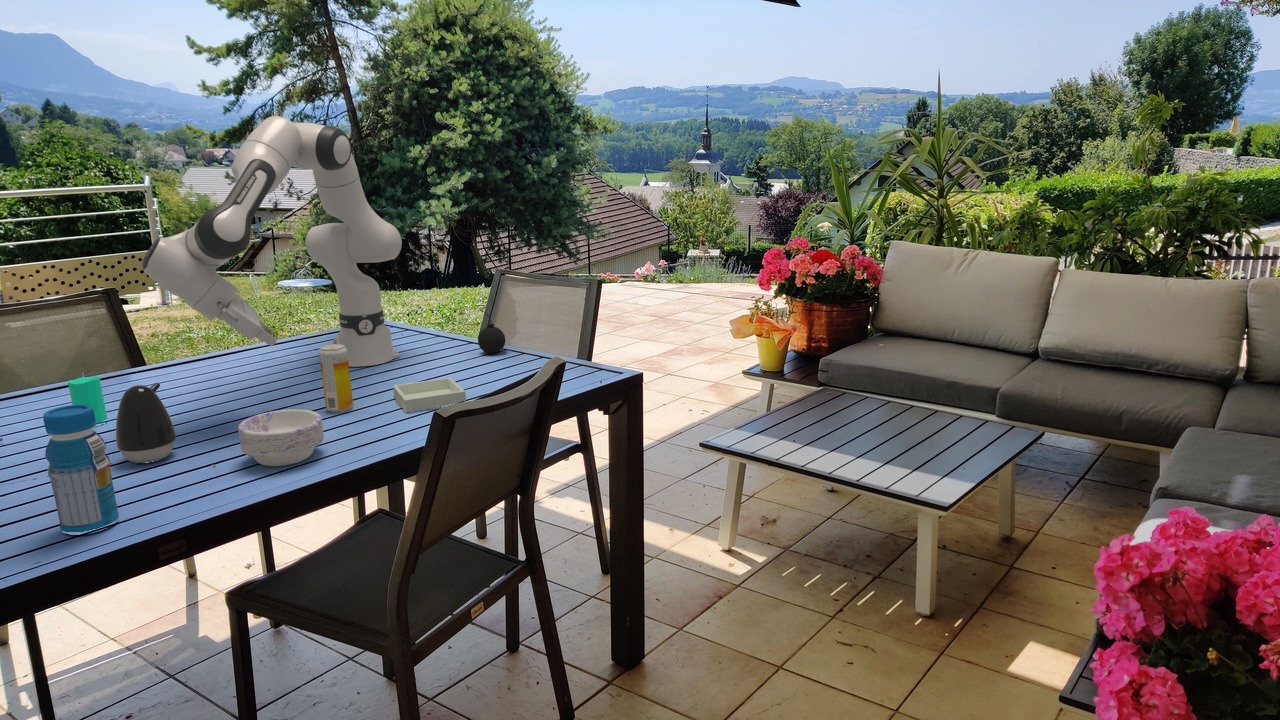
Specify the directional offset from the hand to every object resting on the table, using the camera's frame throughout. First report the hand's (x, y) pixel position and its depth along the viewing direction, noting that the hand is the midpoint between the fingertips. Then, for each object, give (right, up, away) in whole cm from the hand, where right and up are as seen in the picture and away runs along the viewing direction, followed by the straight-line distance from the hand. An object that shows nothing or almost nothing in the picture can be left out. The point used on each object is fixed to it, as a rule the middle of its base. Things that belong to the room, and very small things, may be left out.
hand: (272, 338), depth 189 cm
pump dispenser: (-16, -25, -19) cm, 35 cm away
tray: (+31, -14, +15) cm, 37 cm away
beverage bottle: (-8, -32, -49) cm, 59 cm away
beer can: (+11, -16, +10) cm, 22 cm away
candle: (-42, -19, +3) cm, 46 cm away
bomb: (+38, -3, +59) cm, 71 cm away
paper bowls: (+11, -24, -20) cm, 34 cm away
